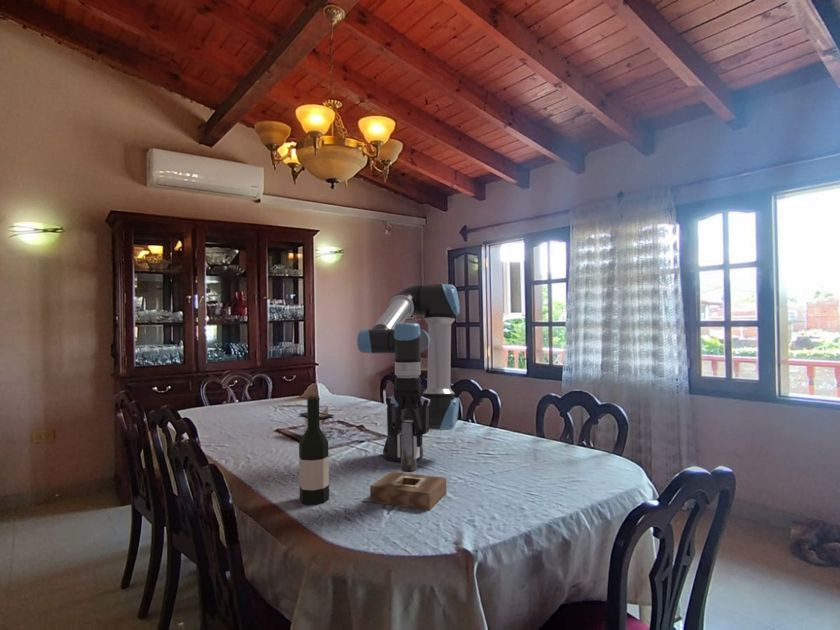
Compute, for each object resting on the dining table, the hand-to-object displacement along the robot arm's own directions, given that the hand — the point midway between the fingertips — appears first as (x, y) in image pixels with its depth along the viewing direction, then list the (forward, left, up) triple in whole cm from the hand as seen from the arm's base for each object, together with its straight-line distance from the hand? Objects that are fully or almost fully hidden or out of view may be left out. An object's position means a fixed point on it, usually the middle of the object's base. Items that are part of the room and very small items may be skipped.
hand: (408, 456), depth 148 cm
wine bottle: (-25, -11, -12) cm, 30 cm away
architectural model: (-67, +55, -12) cm, 88 cm away
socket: (0, 0, -12) cm, 12 cm away
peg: (0, 0, -4) cm, 4 cm away
